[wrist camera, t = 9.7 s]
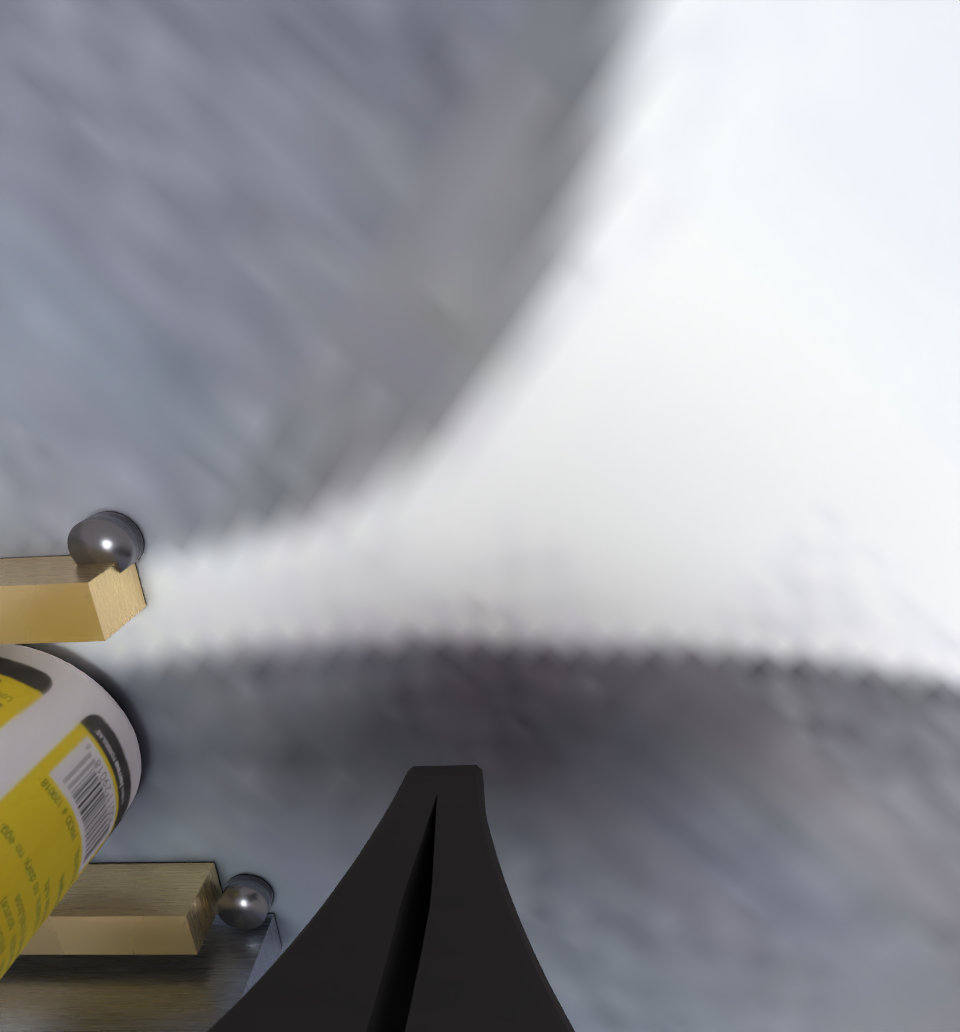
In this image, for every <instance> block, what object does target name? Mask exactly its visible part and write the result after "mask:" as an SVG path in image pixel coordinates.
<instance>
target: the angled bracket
mask: <svg viewBox="0 0 960 1032" xmlns="http://www.w3.org/2000/svg"><path fill="white" fill-rule="evenodd" d="M143 547H144V543H143V538H142V535H141V533H140V531H139V529H138V527H137V526H136V525H135V524H134V523H133V522H132V521H131V520H130V519H128V518H127V517H125V516H123V515H121V514H119V513H115V512H101V513H98V514H95V515H93V516H92V517H90V518H88V519H86V520H84V521H82V522H80V523H78V524H77V525H75V526H74V527H73V528H72V530H71V531H70V533H69V536H68V549H69V552H70V555H71V556H52V557H29V558H6V559H0V644H29V643H58V642H87V641H105V640H107V639H108V638H109V637H110V636H111V635H113V634H114V633H115V632H116V631H117V630H119V629H120V628H121V627H122V626H123V625H124V624H126V623H127V622H128V621H129V620H130V619H132V618H133V617H134V616H135V615H136V614H138V613H139V612H140V611H141V610H142V609H143V608H145V607H146V604H145V600H144V596H143V592H142V589H141V585H140V581H139V577H138V574H137V570H136V566H135V562H136V561H138V559H139V558H140V557H141V555H142V553H143ZM272 900H273V892H272V889H271V888H270V886H269V885H268V884H267V883H266V882H265V881H263V880H262V879H260V878H258V877H255V876H251V875H240V876H236V877H234V878H232V879H231V880H230V881H229V882H228V883H227V885H226V887H225V889H224V891H223V893H222V891H221V887H220V883H219V880H218V876H217V872H216V868H215V864H214V863H147V864H88V865H87V866H86V868H85V869H84V870H83V872H82V873H81V874H80V876H79V877H78V878H77V880H76V881H75V882H74V884H73V885H72V886H71V887H70V889H69V890H68V891H67V892H66V894H65V895H64V896H63V897H62V899H61V900H60V902H59V903H58V904H57V906H56V907H55V908H54V909H53V911H52V912H51V913H50V915H49V916H48V917H47V919H46V920H45V922H44V923H43V924H42V925H41V927H40V928H39V929H38V930H37V932H36V933H35V934H34V936H33V937H32V938H31V940H30V941H29V942H28V944H27V945H26V946H25V948H24V949H23V951H22V952H21V953H20V954H19V956H18V957H17V958H16V960H15V961H14V962H13V964H12V965H11V966H10V968H9V969H8V970H7V971H6V973H5V974H4V975H3V977H2V978H1V979H0V1032H206V1031H208V1030H209V1029H210V1028H211V1027H212V1026H213V1025H214V1024H215V1023H216V1022H217V1021H218V1020H219V1019H220V1018H221V1017H222V1016H223V1015H224V1014H225V1013H227V1012H228V1011H229V1010H230V1009H231V1008H232V1007H233V1006H234V1005H235V1004H236V1003H237V1002H238V1001H239V1000H240V999H241V998H242V997H243V996H244V995H245V994H246V993H247V992H248V991H249V990H250V988H251V987H252V986H253V985H254V984H255V983H256V982H257V981H258V980H259V979H260V978H261V977H262V976H263V975H264V973H265V972H266V971H267V970H268V969H269V968H270V967H271V966H272V965H273V964H274V963H275V961H276V960H277V959H278V957H279V954H280V952H281V949H282V947H281V943H280V938H279V934H278V930H277V925H276V921H275V917H274V914H267V913H268V911H269V908H270V905H271V903H272ZM217 913H218V914H217Z"/></svg>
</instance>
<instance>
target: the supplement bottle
mask: <svg viewBox="0 0 960 1032" xmlns="http://www.w3.org/2000/svg"><path fill="white" fill-rule="evenodd" d="M140 776H141V755H140V750H139V745H138V741H137V737H136V734H135V732H134V729H133V727H132V725H131V724H130V722H129V720H128V718H127V716H126V715H125V713H124V712H123V710H122V709H121V708H120V707H119V705H118V704H117V703H116V702H115V700H114V699H113V698H112V697H111V696H110V695H109V694H108V693H107V692H106V691H105V690H104V689H103V688H102V687H101V686H100V685H99V684H98V683H97V682H96V681H94V680H93V679H92V678H90V677H89V676H88V675H86V674H85V673H84V672H82V671H81V670H79V669H77V668H76V667H74V666H73V665H71V664H69V663H67V662H65V661H63V660H61V659H59V658H57V657H55V656H53V655H51V654H48V653H45V652H43V651H40V650H36V649H33V648H30V647H26V646H21V645H16V644H0V979H1V978H2V977H3V975H4V974H5V973H6V971H7V970H8V969H9V968H10V966H11V965H12V964H13V962H14V961H15V960H16V958H17V957H18V956H19V954H20V953H21V952H22V951H23V949H24V948H25V946H26V945H27V944H28V942H29V941H30V940H31V938H32V937H33V936H34V934H35V933H36V932H37V930H38V929H39V928H40V927H41V925H42V924H43V923H44V922H45V920H46V919H47V917H48V916H49V915H50V913H51V912H52V911H53V909H54V908H55V907H56V906H57V904H58V903H59V902H60V900H61V899H62V897H63V896H64V895H65V894H66V892H67V891H68V890H69V889H70V887H71V886H72V885H73V884H74V882H75V881H76V880H77V878H78V877H79V876H80V874H81V873H82V872H83V870H84V869H85V868H86V866H87V865H88V863H89V862H90V861H91V860H92V858H93V857H94V856H95V855H96V853H97V852H98V851H99V849H100V848H101V847H102V845H103V844H104V842H105V841H106V839H107V838H108V836H109V835H110V834H111V833H112V832H113V830H114V829H115V828H116V826H117V825H118V823H119V822H120V820H121V819H122V817H123V816H124V814H125V813H126V811H127V810H128V808H129V807H130V805H131V803H132V802H133V800H134V797H135V795H136V793H137V790H138V786H139V782H140Z"/></svg>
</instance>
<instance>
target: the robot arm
mask: <svg viewBox="0 0 960 1032" xmlns="http://www.w3.org/2000/svg"><path fill="white" fill-rule="evenodd" d="M206 1032H575V1031H574V1029H573V1027H572V1025H571V1024H570V1022H569V1020H568V1018H567V1016H566V1014H565V1012H564V1011H563V1009H562V1007H561V1005H560V1003H559V1001H558V999H557V998H556V996H555V994H554V992H553V990H552V988H551V986H550V984H549V983H548V981H547V979H546V976H545V974H544V972H543V970H542V968H541V966H540V964H539V962H538V960H537V958H536V955H535V953H534V951H533V949H532V947H531V945H530V942H529V940H528V938H527V935H526V933H525V931H524V929H523V926H522V924H521V922H520V919H519V917H518V914H517V912H516V909H515V907H514V904H513V902H512V899H511V896H510V893H509V891H508V888H507V885H506V882H505V880H504V877H503V874H502V871H501V868H500V865H499V862H498V858H497V855H496V851H495V848H494V844H493V841H492V838H491V834H490V830H489V826H488V822H487V817H486V811H485V798H484V785H483V773H482V770H481V769H480V768H479V767H478V766H477V765H460V766H414V767H412V768H411V769H410V770H409V771H408V772H407V774H406V776H405V778H404V780H403V782H402V784H401V786H400V788H399V790H398V792H397V793H396V795H395V797H394V799H393V801H392V802H391V804H390V806H389V808H388V809H387V811H386V813H385V814H384V816H383V818H382V819H381V821H380V823H379V824H378V826H377V827H376V829H375V831H374V832H373V834H372V835H371V837H370V838H369V840H368V841H367V843H366V845H365V846H364V848H363V849H362V851H361V852H360V854H359V855H358V857H357V858H356V860H355V861H354V863H353V864H352V866H351V867H350V868H349V870H348V871H347V873H346V874H345V875H344V877H343V878H342V880H341V881H340V882H339V884H338V885H337V887H336V888H335V889H334V891H333V892H332V893H331V895H330V896H329V898H328V899H327V900H326V902H325V903H324V904H323V905H322V907H321V908H320V909H319V911H318V912H317V913H316V914H315V916H314V917H313V918H312V919H311V921H310V922H309V923H308V924H307V926H306V927H305V928H304V929H303V930H302V932H301V933H300V934H299V935H298V936H297V938H296V939H295V940H294V941H293V942H292V943H291V945H290V946H289V947H288V948H287V949H286V950H285V952H284V953H283V954H282V955H281V956H280V957H279V958H278V959H277V960H276V961H275V963H274V964H273V965H272V966H271V967H270V968H269V969H268V970H267V971H266V972H265V973H264V975H263V976H262V977H261V978H260V979H259V980H258V981H257V982H256V983H255V984H254V985H253V986H252V987H251V988H250V990H249V991H248V992H247V993H246V994H245V995H244V996H243V997H242V998H241V999H240V1000H239V1001H238V1002H237V1003H236V1004H235V1005H234V1006H233V1007H232V1008H231V1009H230V1010H229V1011H228V1012H227V1013H225V1014H224V1015H223V1016H222V1017H221V1018H220V1019H219V1020H218V1021H217V1022H216V1023H215V1024H214V1025H213V1026H212V1027H211V1028H210V1029H209V1030H208V1031H206Z"/></svg>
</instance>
